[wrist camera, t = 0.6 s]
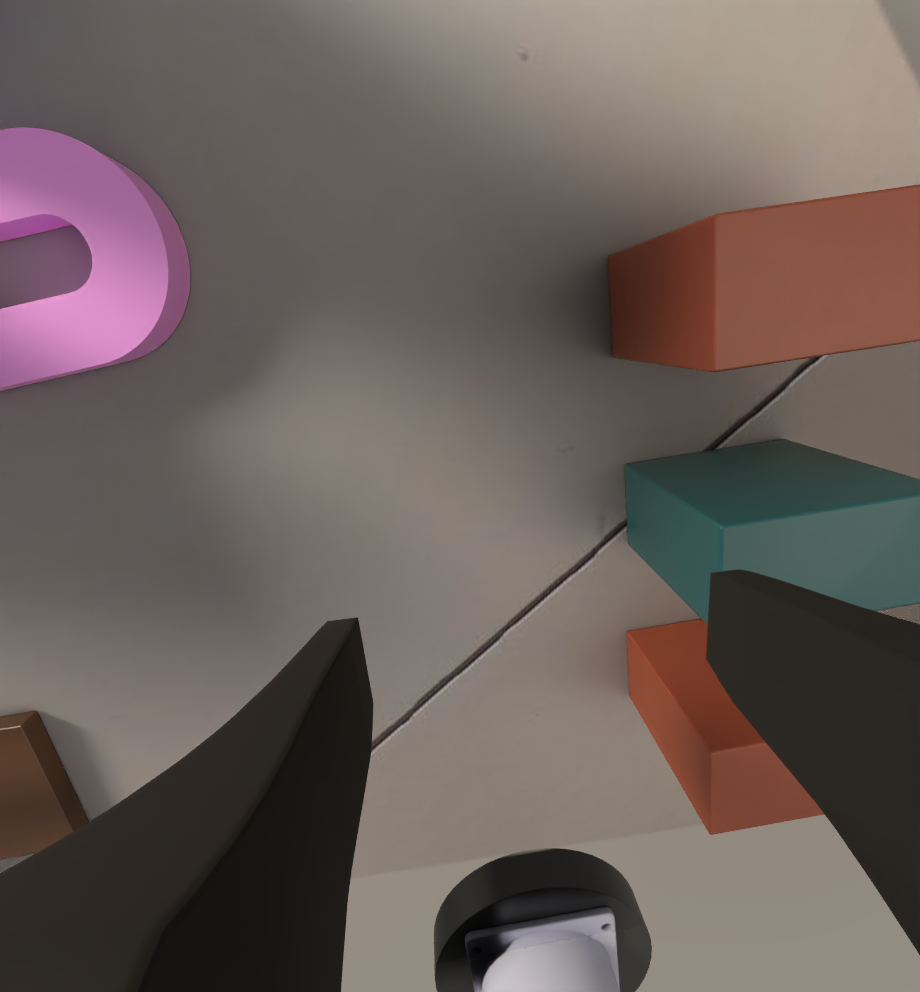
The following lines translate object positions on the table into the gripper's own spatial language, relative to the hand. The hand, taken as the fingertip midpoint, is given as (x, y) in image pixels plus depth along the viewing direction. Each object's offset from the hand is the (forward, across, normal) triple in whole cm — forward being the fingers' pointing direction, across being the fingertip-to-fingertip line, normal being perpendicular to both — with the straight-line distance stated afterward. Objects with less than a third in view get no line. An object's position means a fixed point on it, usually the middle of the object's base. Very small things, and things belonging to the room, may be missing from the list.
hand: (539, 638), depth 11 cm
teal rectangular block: (+8, -8, 0) cm, 11 cm away
